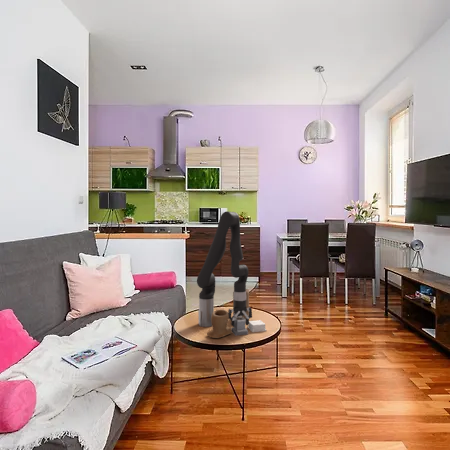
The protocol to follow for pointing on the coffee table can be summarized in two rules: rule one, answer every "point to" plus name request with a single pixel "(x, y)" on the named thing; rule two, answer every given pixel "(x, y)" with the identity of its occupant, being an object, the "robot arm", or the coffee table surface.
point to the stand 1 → (239, 332)
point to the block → (246, 302)
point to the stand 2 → (256, 326)
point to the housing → (239, 323)
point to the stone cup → (219, 324)
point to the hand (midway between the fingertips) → (240, 325)
